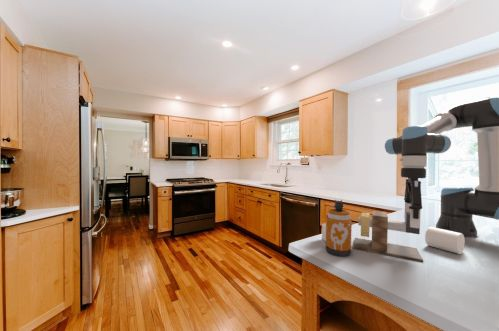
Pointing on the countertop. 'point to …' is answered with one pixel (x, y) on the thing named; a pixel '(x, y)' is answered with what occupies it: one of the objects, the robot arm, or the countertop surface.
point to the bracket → (384, 240)
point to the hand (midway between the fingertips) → (411, 223)
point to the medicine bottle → (324, 231)
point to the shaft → (399, 225)
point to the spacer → (365, 224)
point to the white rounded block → (445, 240)
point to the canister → (338, 230)
